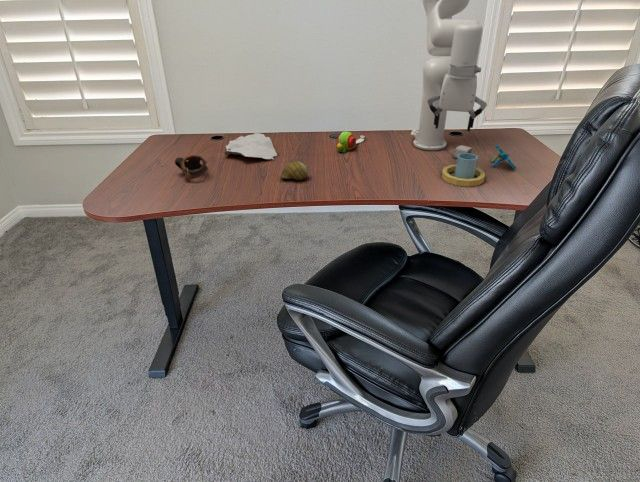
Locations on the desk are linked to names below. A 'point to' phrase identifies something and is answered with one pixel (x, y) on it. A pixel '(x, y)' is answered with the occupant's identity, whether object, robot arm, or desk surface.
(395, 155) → the desk surface
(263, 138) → the paper
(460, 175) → the cup
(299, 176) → the seashell
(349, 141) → the toy measuring tape
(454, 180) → the ring
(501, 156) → the blue branched piece
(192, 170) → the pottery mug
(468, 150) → the usb wall charger
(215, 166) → the desk surface
